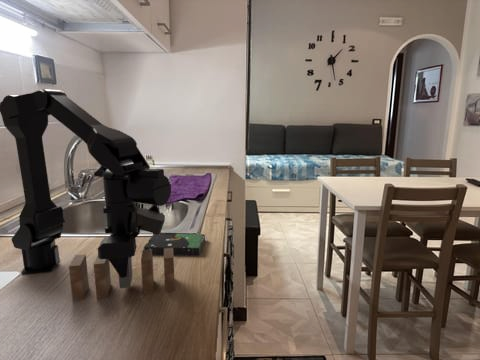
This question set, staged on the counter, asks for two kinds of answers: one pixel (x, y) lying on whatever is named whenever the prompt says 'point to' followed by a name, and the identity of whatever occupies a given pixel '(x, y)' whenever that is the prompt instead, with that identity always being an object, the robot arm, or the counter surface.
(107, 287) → the domino
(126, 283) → the domino
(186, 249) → the disk drive
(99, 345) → the counter surface
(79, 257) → the domino
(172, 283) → the domino
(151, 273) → the domino
